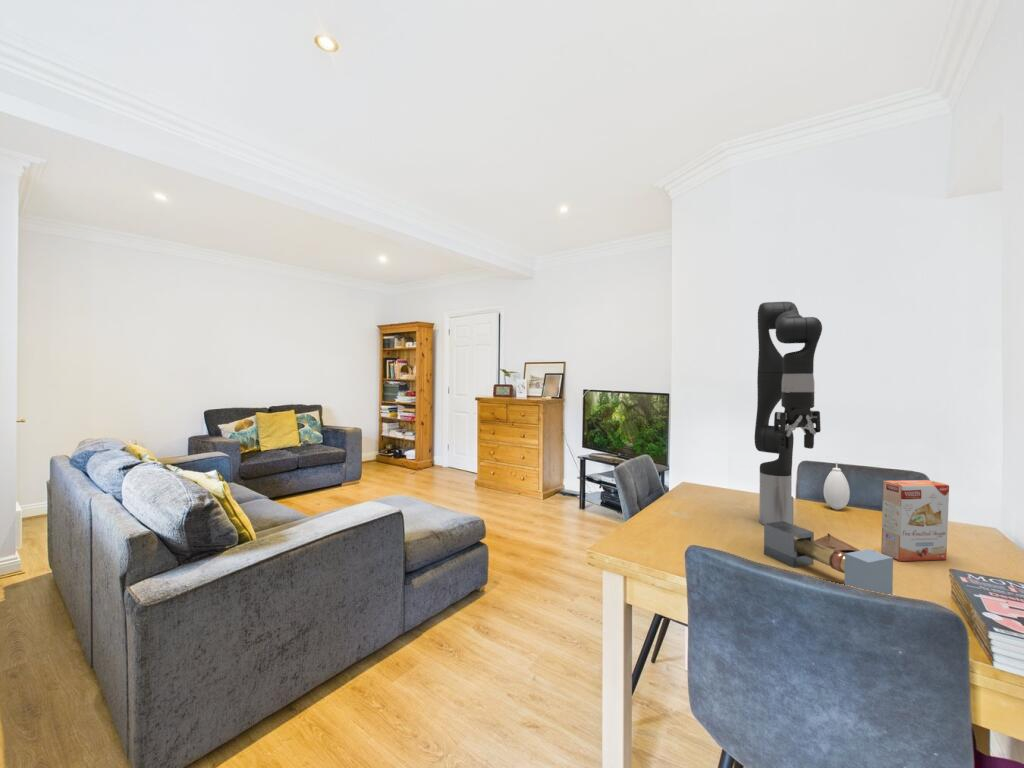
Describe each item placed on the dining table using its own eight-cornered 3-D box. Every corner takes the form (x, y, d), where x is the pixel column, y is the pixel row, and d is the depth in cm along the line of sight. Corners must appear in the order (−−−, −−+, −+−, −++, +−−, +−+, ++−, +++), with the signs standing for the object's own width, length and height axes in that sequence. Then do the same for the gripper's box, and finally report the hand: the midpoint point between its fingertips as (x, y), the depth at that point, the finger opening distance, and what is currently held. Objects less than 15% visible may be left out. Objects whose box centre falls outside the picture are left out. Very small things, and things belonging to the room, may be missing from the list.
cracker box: (901, 562, 114) (902, 485, 114) (880, 553, 120) (881, 479, 120) (949, 560, 115) (950, 484, 115) (926, 551, 121) (927, 478, 121)
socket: (868, 586, 102) (868, 549, 101) (892, 596, 97) (893, 557, 97) (844, 591, 99) (844, 553, 99) (867, 602, 94) (868, 562, 94)
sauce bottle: (821, 508, 160) (821, 461, 160) (826, 504, 166) (826, 458, 165) (847, 513, 155) (847, 464, 154) (851, 509, 160) (851, 461, 160)
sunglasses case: (801, 543, 127) (812, 524, 127) (821, 555, 127) (832, 536, 127) (849, 571, 109) (863, 549, 109) (872, 585, 109) (886, 563, 109)
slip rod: (801, 550, 116) (801, 534, 116) (879, 583, 98) (880, 563, 98) (788, 553, 114) (788, 536, 114) (865, 586, 96) (866, 566, 96)
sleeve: (782, 550, 122) (783, 521, 122) (813, 563, 114) (813, 531, 114) (764, 553, 120) (764, 523, 120) (793, 567, 112) (794, 535, 112)
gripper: (803, 389, 123) (803, 445, 123) (765, 390, 119) (765, 448, 119) (830, 390, 116) (829, 449, 116) (790, 391, 111) (790, 453, 112)
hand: (797, 449), depth 117 cm, fingers open, 8 cm apart
